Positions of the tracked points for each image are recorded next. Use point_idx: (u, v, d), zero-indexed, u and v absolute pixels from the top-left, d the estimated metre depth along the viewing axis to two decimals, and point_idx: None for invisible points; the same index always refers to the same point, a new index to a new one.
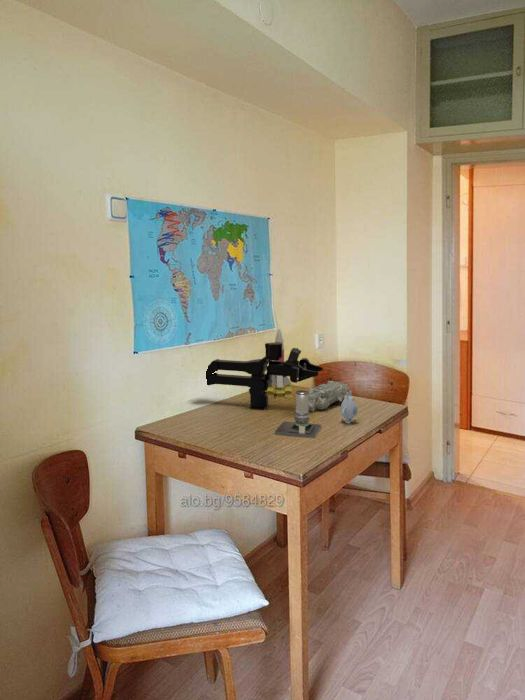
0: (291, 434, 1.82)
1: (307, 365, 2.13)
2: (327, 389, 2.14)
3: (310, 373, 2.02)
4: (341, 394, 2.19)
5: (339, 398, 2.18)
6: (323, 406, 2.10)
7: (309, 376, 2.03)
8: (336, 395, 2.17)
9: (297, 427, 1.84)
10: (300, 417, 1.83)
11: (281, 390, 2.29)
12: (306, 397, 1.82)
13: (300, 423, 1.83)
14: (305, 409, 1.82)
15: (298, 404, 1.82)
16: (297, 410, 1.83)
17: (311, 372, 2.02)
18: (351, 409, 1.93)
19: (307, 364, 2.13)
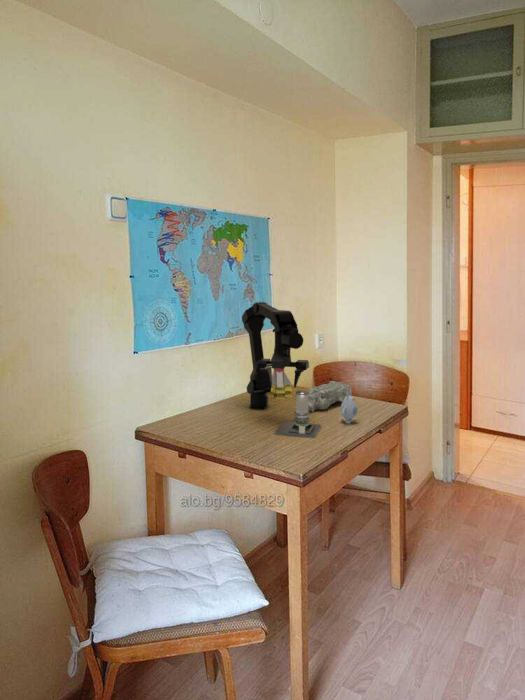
0: (291, 434, 1.82)
1: None
2: (327, 389, 2.13)
3: None
4: (342, 394, 2.19)
5: (340, 398, 2.17)
6: (323, 406, 2.10)
7: None
8: (337, 395, 2.16)
9: (297, 427, 1.84)
10: (300, 417, 1.83)
11: (281, 390, 2.29)
12: (306, 397, 1.82)
13: (300, 423, 1.83)
14: (305, 409, 1.82)
15: (298, 404, 1.82)
16: (297, 410, 1.83)
17: None
18: (351, 409, 1.93)
19: None
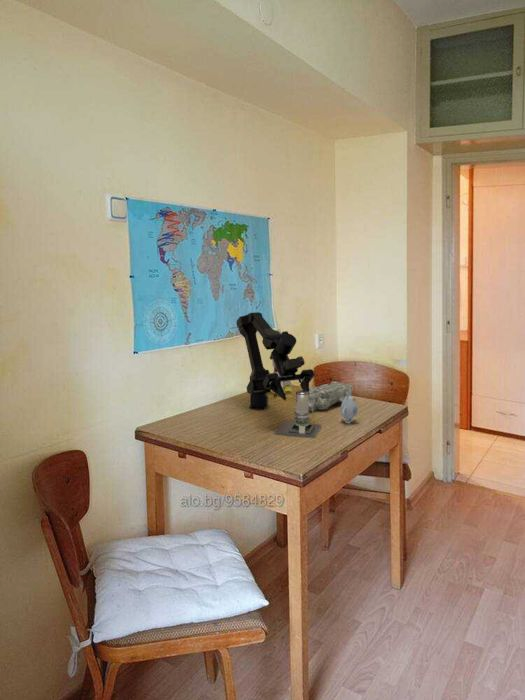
0: (291, 434, 1.82)
1: (304, 380, 1.92)
2: (328, 389, 2.13)
3: (280, 393, 1.86)
4: (343, 395, 2.18)
5: (341, 399, 2.17)
6: (323, 406, 2.09)
7: (278, 394, 1.87)
8: (338, 396, 2.16)
9: (297, 427, 1.84)
10: (300, 417, 1.83)
11: None
12: (306, 397, 1.82)
13: (300, 423, 1.83)
14: (305, 409, 1.82)
15: (298, 404, 1.82)
16: (297, 410, 1.83)
17: (281, 393, 1.85)
18: (351, 409, 1.93)
19: (304, 379, 1.91)
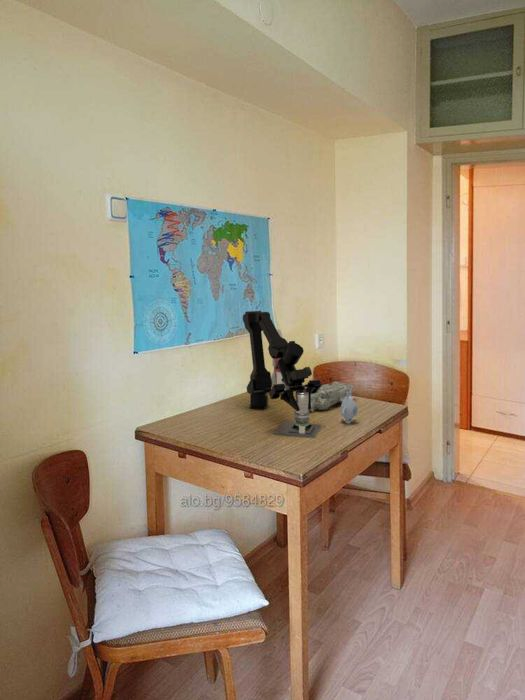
0: (291, 434, 1.82)
1: None
2: (328, 390, 2.13)
3: (292, 403, 1.83)
4: (344, 395, 2.17)
5: (341, 399, 2.16)
6: (323, 406, 2.09)
7: (291, 404, 1.84)
8: (338, 396, 2.15)
9: (297, 427, 1.84)
10: (300, 417, 1.83)
11: None
12: (306, 397, 1.82)
13: (300, 423, 1.83)
14: (305, 409, 1.82)
15: (298, 404, 1.82)
16: None
17: (293, 404, 1.82)
18: (351, 409, 1.93)
19: None
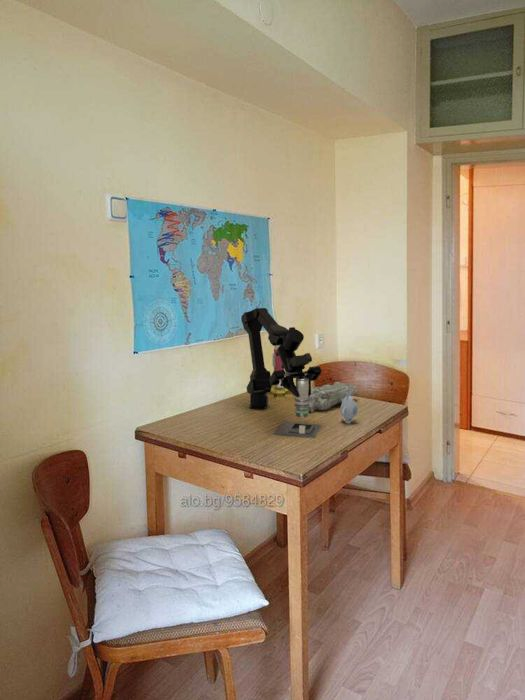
0: (291, 434, 1.82)
1: None
2: (329, 390, 2.12)
3: (292, 390, 1.82)
4: (345, 396, 2.17)
5: (342, 400, 2.15)
6: (322, 407, 2.09)
7: (291, 391, 1.83)
8: (339, 396, 2.15)
9: (297, 414, 1.83)
10: (300, 404, 1.82)
11: (281, 390, 2.29)
12: (306, 383, 1.81)
13: (300, 409, 1.82)
14: (305, 395, 1.81)
15: (298, 390, 1.81)
16: None
17: (293, 390, 1.82)
18: (351, 409, 1.93)
19: None
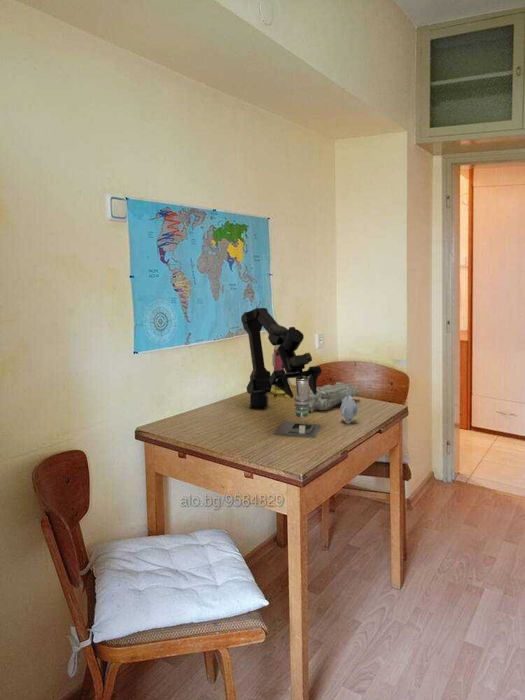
0: (291, 434, 1.82)
1: (311, 377, 1.87)
2: (329, 390, 2.12)
3: (287, 390, 1.81)
4: None
5: None
6: (322, 407, 2.09)
7: (285, 391, 1.82)
8: (340, 397, 2.14)
9: (297, 413, 1.83)
10: (300, 403, 1.82)
11: (281, 390, 2.29)
12: (306, 383, 1.81)
13: (300, 409, 1.82)
14: (305, 395, 1.81)
15: (298, 390, 1.81)
16: (297, 396, 1.82)
17: (288, 390, 1.81)
18: (351, 409, 1.93)
19: (311, 376, 1.87)
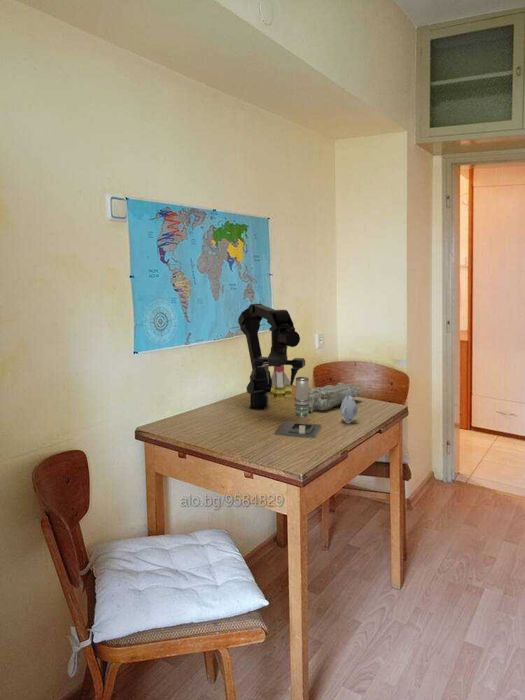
0: (291, 434, 1.82)
1: None
2: (329, 390, 2.12)
3: None
4: None
5: None
6: (322, 407, 2.08)
7: None
8: (340, 397, 2.14)
9: (297, 413, 1.83)
10: (300, 403, 1.82)
11: (281, 390, 2.29)
12: (306, 383, 1.81)
13: (300, 409, 1.82)
14: (305, 395, 1.81)
15: (298, 390, 1.81)
16: (297, 396, 1.82)
17: None
18: (351, 409, 1.93)
19: None
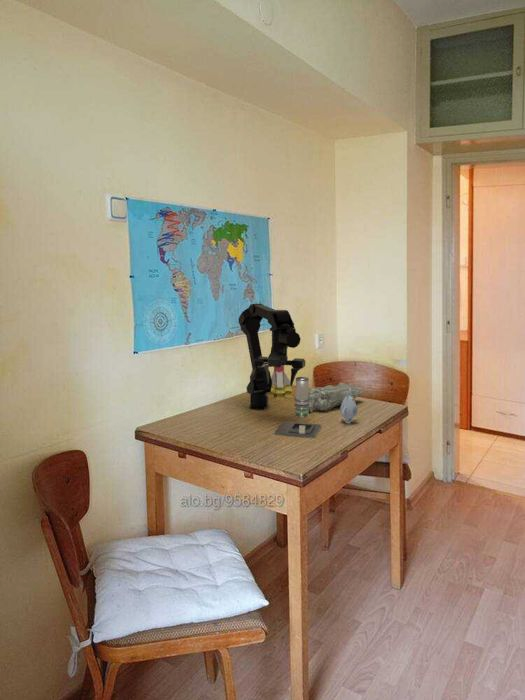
0: (291, 434, 1.82)
1: None
2: (330, 391, 2.11)
3: None
4: None
5: None
6: (322, 407, 2.08)
7: None
8: (341, 397, 2.13)
9: (297, 413, 1.83)
10: (300, 403, 1.82)
11: (281, 390, 2.29)
12: (306, 383, 1.81)
13: (300, 409, 1.82)
14: (305, 395, 1.81)
15: (298, 390, 1.81)
16: (297, 396, 1.82)
17: None
18: (351, 409, 1.93)
19: None
